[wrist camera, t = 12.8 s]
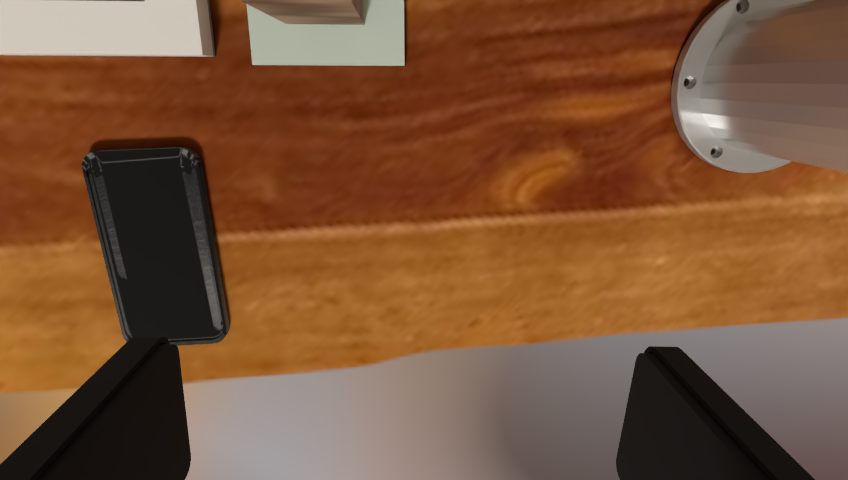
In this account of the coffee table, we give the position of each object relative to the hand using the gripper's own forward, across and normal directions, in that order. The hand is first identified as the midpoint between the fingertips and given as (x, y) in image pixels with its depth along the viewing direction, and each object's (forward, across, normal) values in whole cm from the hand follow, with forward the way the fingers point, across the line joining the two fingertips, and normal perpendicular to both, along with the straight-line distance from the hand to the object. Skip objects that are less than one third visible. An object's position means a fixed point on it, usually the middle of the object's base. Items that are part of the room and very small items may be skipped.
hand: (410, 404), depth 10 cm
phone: (+28, +18, +7) cm, 34 cm away
